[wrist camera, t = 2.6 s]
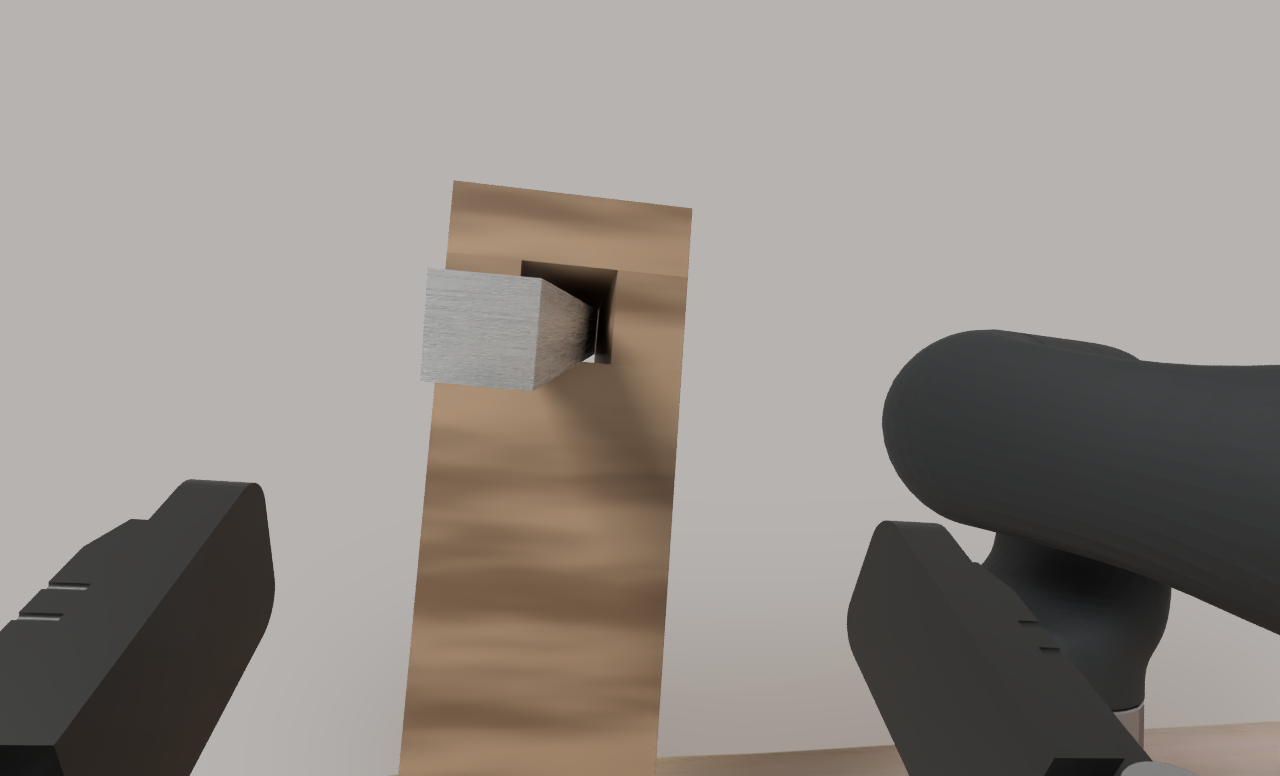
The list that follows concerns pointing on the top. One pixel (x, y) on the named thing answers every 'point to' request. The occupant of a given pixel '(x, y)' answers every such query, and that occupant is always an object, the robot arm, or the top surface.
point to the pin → (502, 330)
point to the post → (553, 507)
